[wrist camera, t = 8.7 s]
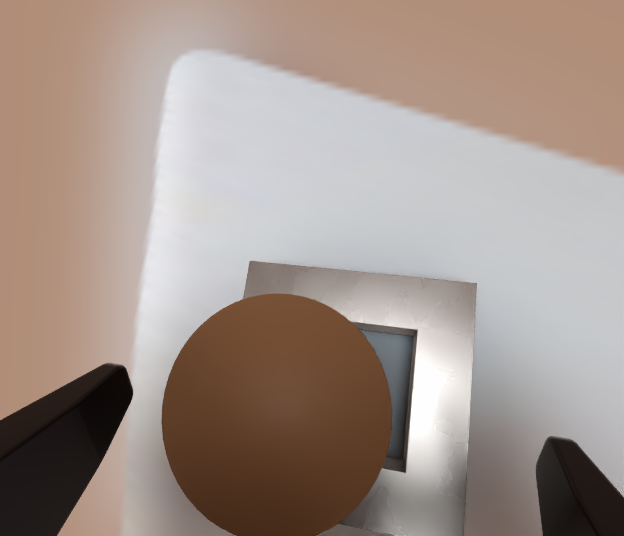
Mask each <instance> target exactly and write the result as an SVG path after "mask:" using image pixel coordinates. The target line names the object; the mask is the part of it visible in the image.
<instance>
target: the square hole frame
mask: <svg viewBox="0 0 624 536" xmlns="http://www.w3.org/2000/svg"><path fill="white" fill-rule="evenodd" d="M476 288H477V283H469V282H458V281H448V280H438V279H428V278H418V277H408V276H398V275H387V274H377V273H367V272H357V271H347V270H337V269H327V268H316V267H306V266H296V265H286V264H276V263H266V262H256V261H250V263H249V269H248V274H247V280H246V285H245V291H244V296H243V299H246V298H249V297H254V296H258V295H263V294H275V293H278V294H292V295H298V296H304V297H307V298H310V299H313V300H316V301H319V302H321V303H323V304H325V305H327V306H329V307H331V308H333V309H334V310H336V311H337V312H339V313H340V314H342V315H343V316H345V317H346V318H347V319H348V320H349V321H350V322H352V323H353V324H354V325H355V326H356V327H357V328H358V329H361V330H369V331H377V332H385V333H393V334H401V335H409V336H413V347H412V359H411V371H410V382H409V394H408V406H407V417H406V429H405V441H404V452H403V460H401V459H395V458H390V457H386V458H385V461H384V464H383V467H382V469H381V471H380V473H379V476H378V478H377V480H376V481H375V483H374V485H373V486H372V488H371V490H370V491H369V493H368V494H367V496H366V497H365V498H364V499H363V500H362V502H361V503H360V504H359V505H358V507H357V508H356V509H354V510H353V511H352V512H351V513H350V514H349V515H348V516H347V517H346V518H345V519H343V520H342V521H340V522H339V524H343V525H348V526H353V527H357V528H362V529H367V530H371V531H376V532H381V533H385V534H390V535H395V536H463V534H464V515H465V496H466V477H467V458H468V439H469V420H470V401H471V382H472V363H473V345H474V326H475V307H476Z"/></svg>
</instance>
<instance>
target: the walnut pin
mask: <svg viewBox="0 0 624 536" xmlns="http://www.w3.org/2000/svg"><path fill="white" fill-rule="evenodd" d="M391 430H392V407H391V396H390V391H389V387H388V383H387V379H386V376H385V373H384V370H383V368H382V365H381V363H380V361H379V359H378V357H377V355H376V353H375V351H374V349H373V348H372V346H371V345H370V343H369V342H368V340H367V339H366V337H365V336H364V335H363V334H362V333H361V332H360V331H359V329H358V328H357V327H356V326H355V325H354V324H353V323H352V322H350V321H349V320H348V319H347V318H346V317H345V316H343V315H342V314H340V313H339V312H337V311H336V310H334V309H333V308H331V307H329V306H327V305H325V304H323V303H321V302H319V301H316V300H313V299H310V298H307V297H304V296H298V295H292V294H278V293H275V294H263V295H258V296H254V297H249V298H246V299H243V300H240V301H238V302H235V303H233V304H231V305H229V306H227V307H225V308H223V309H222V310H220V311H219V312H217V313H216V314H214V315H213V316H211V317H210V318H209V319H208V320H207V321H205V322H204V323H203V324H202V325H201V326H200V327H199V328H198V329H197V330H196V331H195V332H194V333H193V335H192V336H191V337H190V338H189V340H188V341H187V342H186V344H185V345H184V347H183V348H182V349H181V351H180V353H179V355H178V357H177V359H176V361H175V362H174V365H173V367H172V370H171V372H170V375H169V378H168V381H167V385H166V389H165V393H164V399H163V406H162V432H163V441H164V446H165V451H166V455H167V458H168V461H169V464H170V467H171V470H172V472H173V474H174V476H175V478H176V480H177V482H178V484H179V486H180V487H181V489H182V490H183V492H184V494H185V495H186V497H187V498H188V499H189V500H190V501H191V503H192V504H193V505H194V506H195V507H196V509H197V510H199V511H200V512H201V513H202V514H203V515H204V516H205V517H206V518H207V519H208V520H210V521H211V522H213V523H214V524H216V525H217V526H219V527H220V528H222V529H224V530H226V531H228V532H230V533H232V534H234V535H236V536H316V535H318V534H320V533H322V532H324V531H326V530H328V529H330V528H332V527H333V526H335V525H336V524H337V523H339V522H340V521H342V520H343V519H345V518H346V517H347V516H348V515H349V514H350V513H351V512H352V511H353V510H354V509H356V508H357V507H358V505H359V504H360V503H361V502H362V500H363V499H364V498H365V497H366V496H367V494H368V493H369V491H370V490H371V488H372V486H373V485H374V483H375V481H376V480H377V478H378V476H379V473H380V471H381V469H382V467H383V464H384V461H385V458H386V455H387V451H388V448H389V443H390V436H391Z"/></svg>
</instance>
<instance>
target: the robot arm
mask: <svg viewBox="0 0 624 536" xmlns="http://www.w3.org/2000/svg"><path fill="white" fill-rule="evenodd" d="M132 397H133V388H132V385H131V382H130V379H129V376H128V372H127V370H126V368H125V367H124V366H123V365H119V364H113V363H106V364H103V365H101V366H99V367H98V368H96V369H94V370H92V371H90V372H88V373H87V374H85V375H83V376H81V377H79V378H77V379H76V380H74V381H72V382H70V383H68V384H66V385H64V386H63V387H61V388H59V389H57V390H55V391H54V392H52V393H50V394H48V395H46V396H44V397H43V398H41V399H39V400H37V401H35V402H33V403H31V404H29V405H28V406H26V407H24V408H22V409H20V410H19V411H17V412H15V413H13V414H11V415H9V416H7V417H6V418H4V419H2V420H0V536H57V535H58V533H59V532H60V530H61V528H62V527H63V525H64V523H65V522H66V520H67V518H68V517H69V515H70V513H71V512H72V510H73V508H74V507H75V505H76V503H77V502H78V500H79V499H80V497H81V495H82V494H83V492H84V490H85V489H86V487H87V485H88V484H89V482H90V480H91V479H92V477H93V475H94V474H95V472H96V470H97V469H98V467H99V465H100V463H101V462H102V460H103V458H104V456H105V454H106V452H107V450H108V448H109V446H110V444H111V442H112V440H113V438H114V436H115V434H116V431H117V429H118V427H119V425H120V423H121V421H122V419H123V417H124V415H125V413H126V411H127V409H128V407H129V405H130V403H131V400H132ZM536 480H537V488H538V497H539V506H540V514H541V523H542V531H543V536H624V497H623V496H622V495H621V494H620V492H619V491H618V490H617V489H616V488H615V487H614V486H613V484H612V483H611V482H610V481H609V480H608V479H607V478H606V476H605V475H604V474H603V473H602V472H601V471H600V470H599V468H598V467H597V466H596V465H595V464H594V463H593V462H592V460H591V459H590V458H589V457H588V456H587V455H586V454H585V452H584V451H583V450H582V449H581V448H580V447H579V446H578V444H577V443H575V442H574V441H573V440H571V439H566V438H560V437H554V436H550V437H548V438H547V440H546V442H545V444H544V446H543V449H542V451H541V454H540V456H539V458H538V461H537V464H536Z"/></svg>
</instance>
